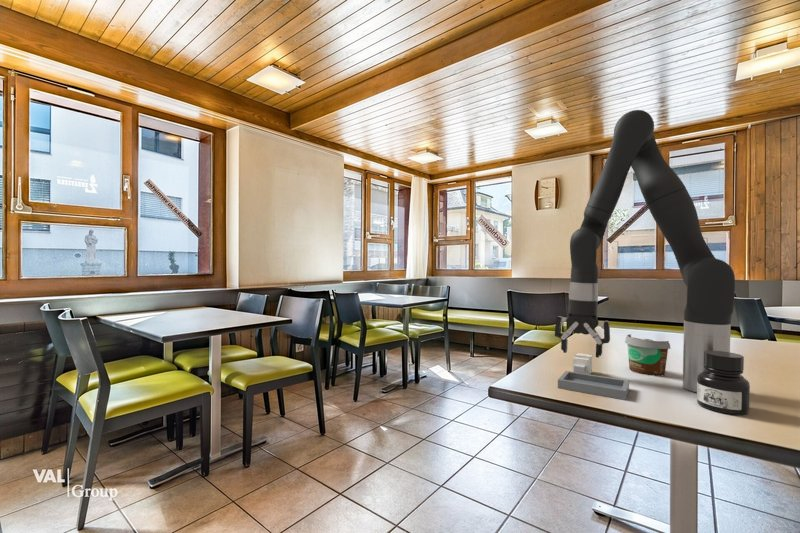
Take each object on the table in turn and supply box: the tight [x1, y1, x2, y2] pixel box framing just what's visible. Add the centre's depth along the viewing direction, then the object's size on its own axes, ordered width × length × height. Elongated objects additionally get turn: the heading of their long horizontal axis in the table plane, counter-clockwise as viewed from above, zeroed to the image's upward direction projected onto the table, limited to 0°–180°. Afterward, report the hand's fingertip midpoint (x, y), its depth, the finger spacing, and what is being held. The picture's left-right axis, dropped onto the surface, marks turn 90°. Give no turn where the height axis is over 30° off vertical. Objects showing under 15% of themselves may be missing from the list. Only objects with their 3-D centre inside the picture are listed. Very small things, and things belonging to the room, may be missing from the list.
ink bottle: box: [696, 351, 751, 416], centre depth 86 cm, size 10×9×12 cm
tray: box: [557, 370, 630, 401], centre depth 98 cm, size 15×10×2 cm, turn 56°
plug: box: [572, 353, 593, 375], centre depth 111 cm, size 4×9×5 cm, turn 146°
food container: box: [624, 333, 672, 377], centre depth 114 cm, size 12×6×10 cm, turn 25°
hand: (580, 354), depth 112 cm, fingers open, 8 cm apart
